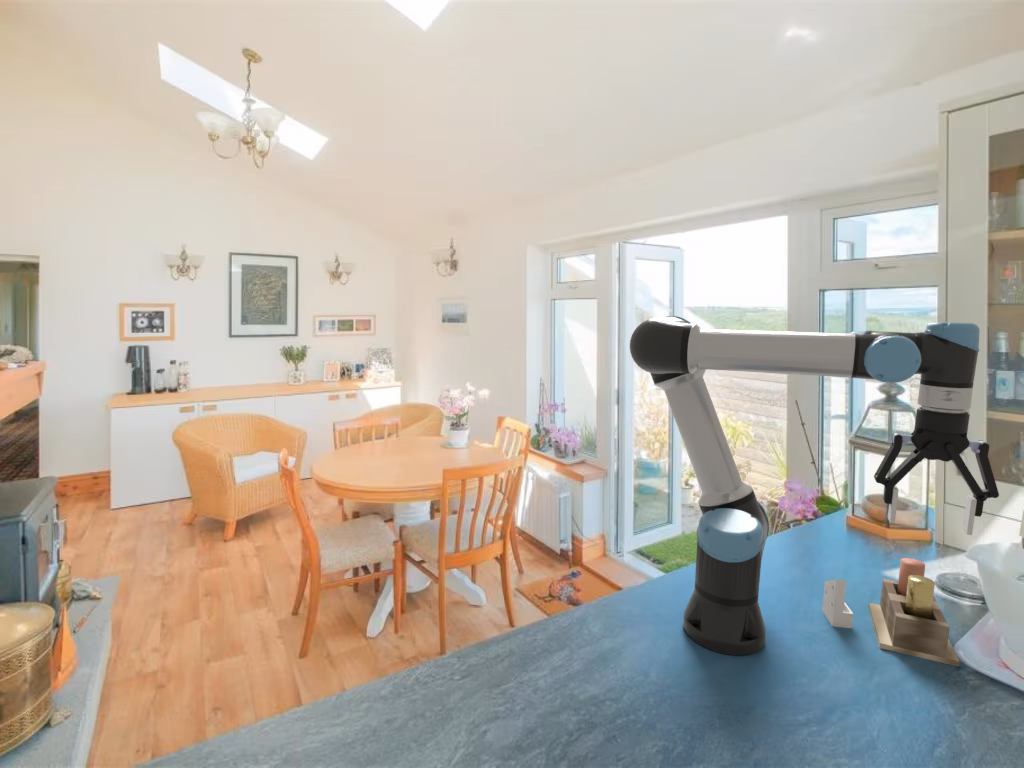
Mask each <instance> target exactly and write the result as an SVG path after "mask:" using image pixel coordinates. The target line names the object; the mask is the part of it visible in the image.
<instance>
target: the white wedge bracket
mask: <svg viewBox="0 0 1024 768" xmlns="http://www.w3.org/2000/svg"><path fill="white" fill-rule="evenodd" d="M823 588H824V589H823V599H822V609H821V612H822V613H823V615H824V616H825V618H826V619H827V620H828V622H829V624H830V625H831V627H836V628H845V629H853V622H854V613H853V611H852V610H851V608H850V607H849V606H848V604H847V603H846V602H845V601H846V599H845V598H846V589H847V580H844V579H831V580H826V581H824V586H823Z"/></svg>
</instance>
